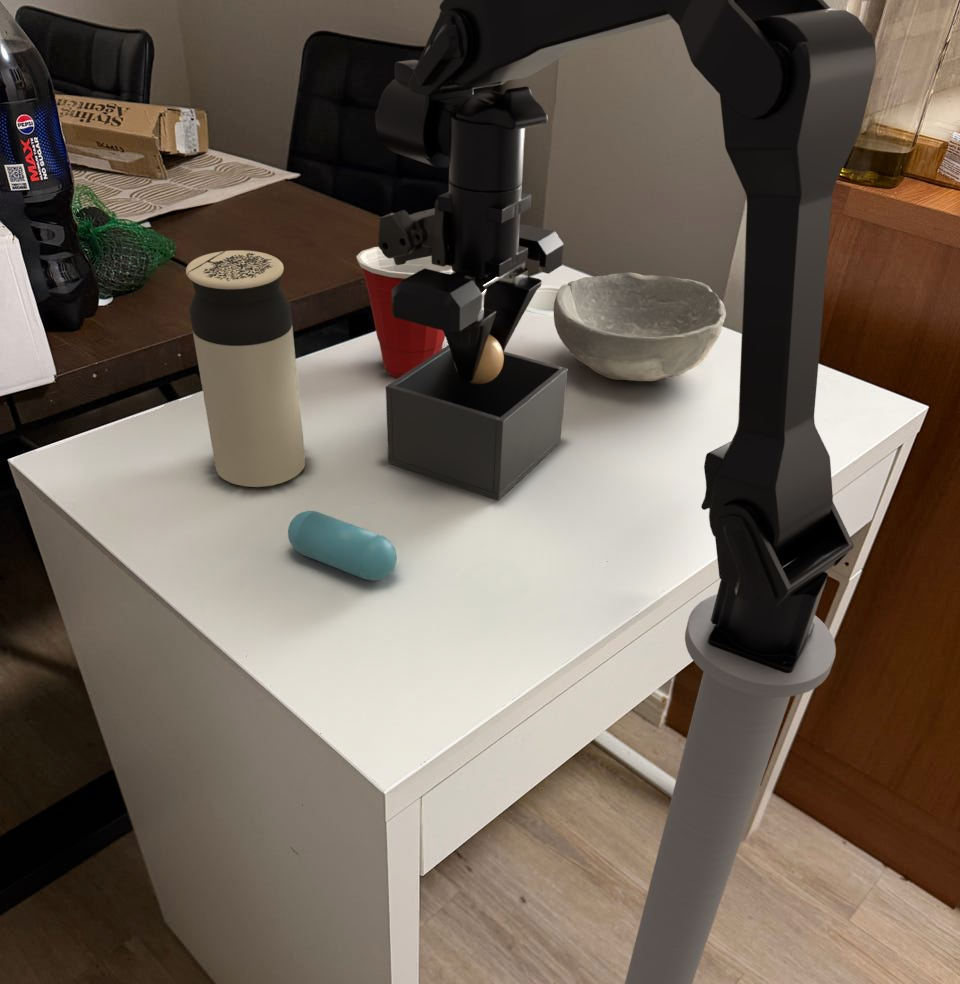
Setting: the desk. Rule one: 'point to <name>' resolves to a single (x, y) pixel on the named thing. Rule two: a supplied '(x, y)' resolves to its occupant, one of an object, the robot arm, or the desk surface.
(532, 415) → the wastebin
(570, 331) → the bowl
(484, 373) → the orange ball
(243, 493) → the desk surface
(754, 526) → the robot arm
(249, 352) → the travel mug
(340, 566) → the teal capsule pill
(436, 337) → the plastic cup
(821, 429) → the desk surface
